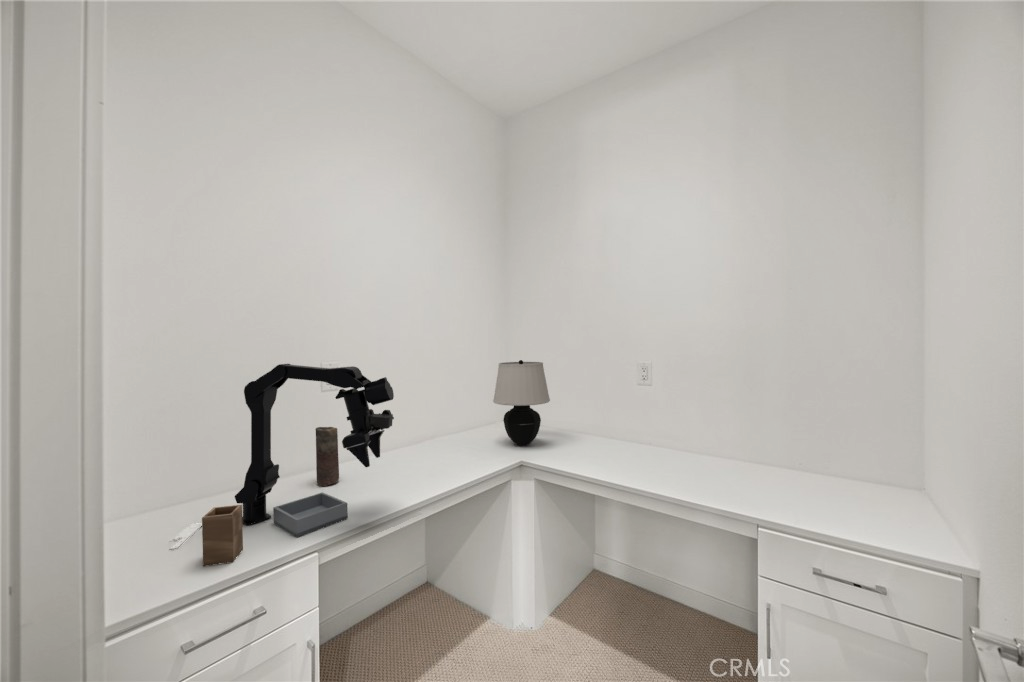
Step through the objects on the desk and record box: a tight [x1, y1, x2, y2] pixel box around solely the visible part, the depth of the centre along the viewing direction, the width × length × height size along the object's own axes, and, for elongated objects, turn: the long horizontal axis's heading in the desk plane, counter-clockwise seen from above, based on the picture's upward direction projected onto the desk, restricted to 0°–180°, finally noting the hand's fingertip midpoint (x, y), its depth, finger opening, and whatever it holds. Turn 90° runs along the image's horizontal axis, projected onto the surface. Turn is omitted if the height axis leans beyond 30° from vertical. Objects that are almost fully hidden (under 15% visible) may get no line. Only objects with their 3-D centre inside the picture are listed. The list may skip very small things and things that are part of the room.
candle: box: [315, 426, 340, 487], centre depth 148 cm, size 8×7×20 cm
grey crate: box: [272, 491, 349, 539], centre depth 117 cm, size 14×14×4 cm
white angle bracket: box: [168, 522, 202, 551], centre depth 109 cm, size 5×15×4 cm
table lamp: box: [492, 359, 551, 446], centre depth 197 cm, size 27×27×40 cm
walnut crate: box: [201, 504, 244, 567], centre depth 98 cm, size 6×6×11 cm
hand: (373, 461), depth 119 cm, fingers open, 9 cm apart
